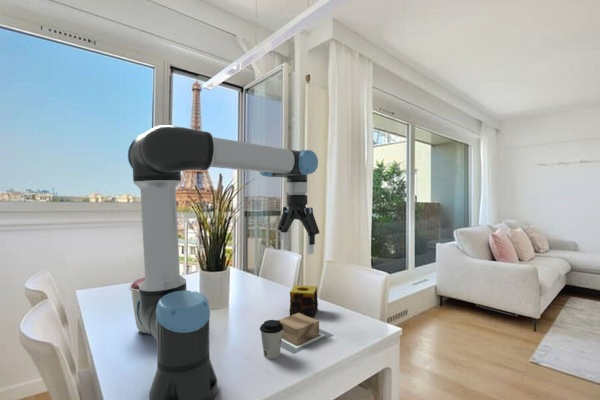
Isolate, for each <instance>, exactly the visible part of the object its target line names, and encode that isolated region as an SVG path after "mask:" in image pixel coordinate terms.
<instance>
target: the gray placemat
mask: <svg viewBox="0 0 600 400" xmlns="http://www.w3.org/2000/svg"><path fill="white" fill-rule="evenodd" d="M333 336H334V334H332V333H330V332H327V330H326V331H325V330H323V329H321V328H319V336H318V337H315V338H313V339H311V340H309V341H306V342H304V343H302V344H300V345H297V346H296V345H295V344H293V343H291V342H289V341H287V340H285V339H283V338H282V339H281V348H282V349H284V350H286V351H288V352H289V353H291V354H293V355H294V354H297V353H299V352H300V351H303V350H305V349H307V348H310V347H311V346H314V345H315V344H318V343H320V342H323V341H324V340H328V339H329V338H331V337H333Z"/></svg>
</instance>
